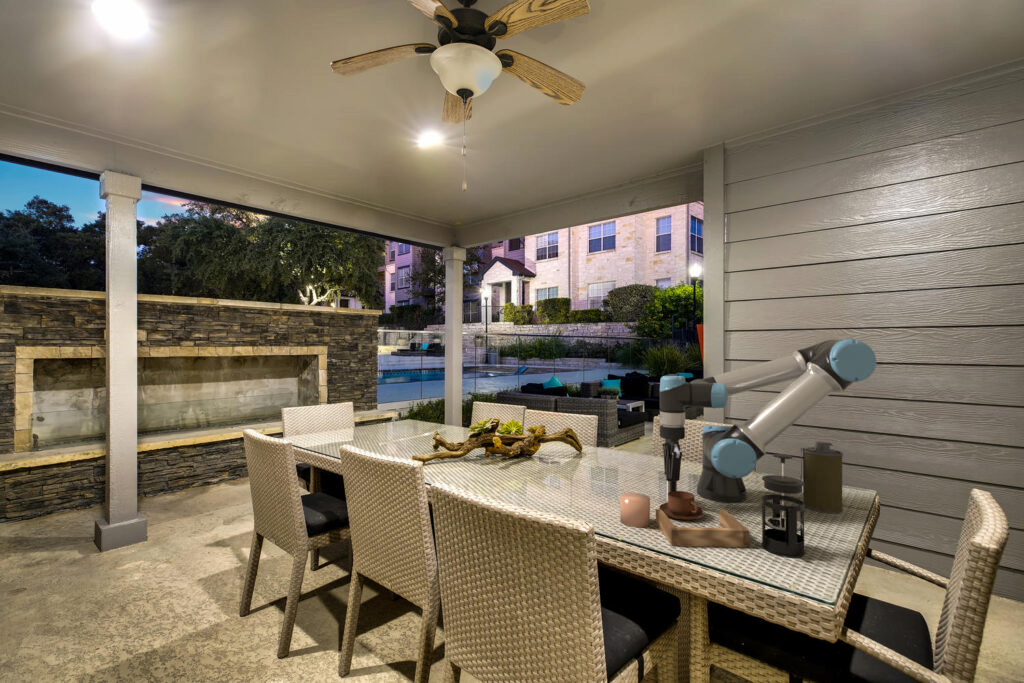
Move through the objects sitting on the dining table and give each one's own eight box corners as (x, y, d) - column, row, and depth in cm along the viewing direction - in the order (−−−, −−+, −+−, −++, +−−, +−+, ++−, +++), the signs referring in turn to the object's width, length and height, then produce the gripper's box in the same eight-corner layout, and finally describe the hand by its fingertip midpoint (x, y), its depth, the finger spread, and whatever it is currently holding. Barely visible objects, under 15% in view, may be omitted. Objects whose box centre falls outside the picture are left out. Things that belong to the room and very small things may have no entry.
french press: (755, 538, 122) (755, 449, 122) (795, 541, 120) (795, 450, 120) (771, 559, 110) (770, 460, 111) (815, 562, 109) (815, 462, 109)
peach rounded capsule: (645, 517, 137) (645, 493, 137) (653, 527, 129) (653, 502, 129) (617, 516, 137) (618, 492, 137) (623, 527, 129) (623, 501, 129)
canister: (839, 504, 148) (839, 440, 148) (846, 515, 139) (846, 447, 139) (798, 500, 153) (798, 437, 153) (803, 510, 143) (803, 443, 143)
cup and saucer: (710, 516, 139) (710, 494, 139) (691, 526, 130) (691, 504, 130) (671, 505, 147) (671, 486, 147) (651, 515, 139) (651, 494, 139)
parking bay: (724, 524, 131) (724, 510, 132) (749, 546, 117) (749, 530, 117) (655, 523, 132) (655, 509, 132) (671, 545, 118) (671, 529, 118)
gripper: (654, 421, 155) (654, 494, 155) (665, 428, 142) (665, 507, 142) (677, 422, 155) (677, 494, 155) (691, 429, 142) (690, 508, 141)
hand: (671, 500), depth 148 cm, fingers closed
